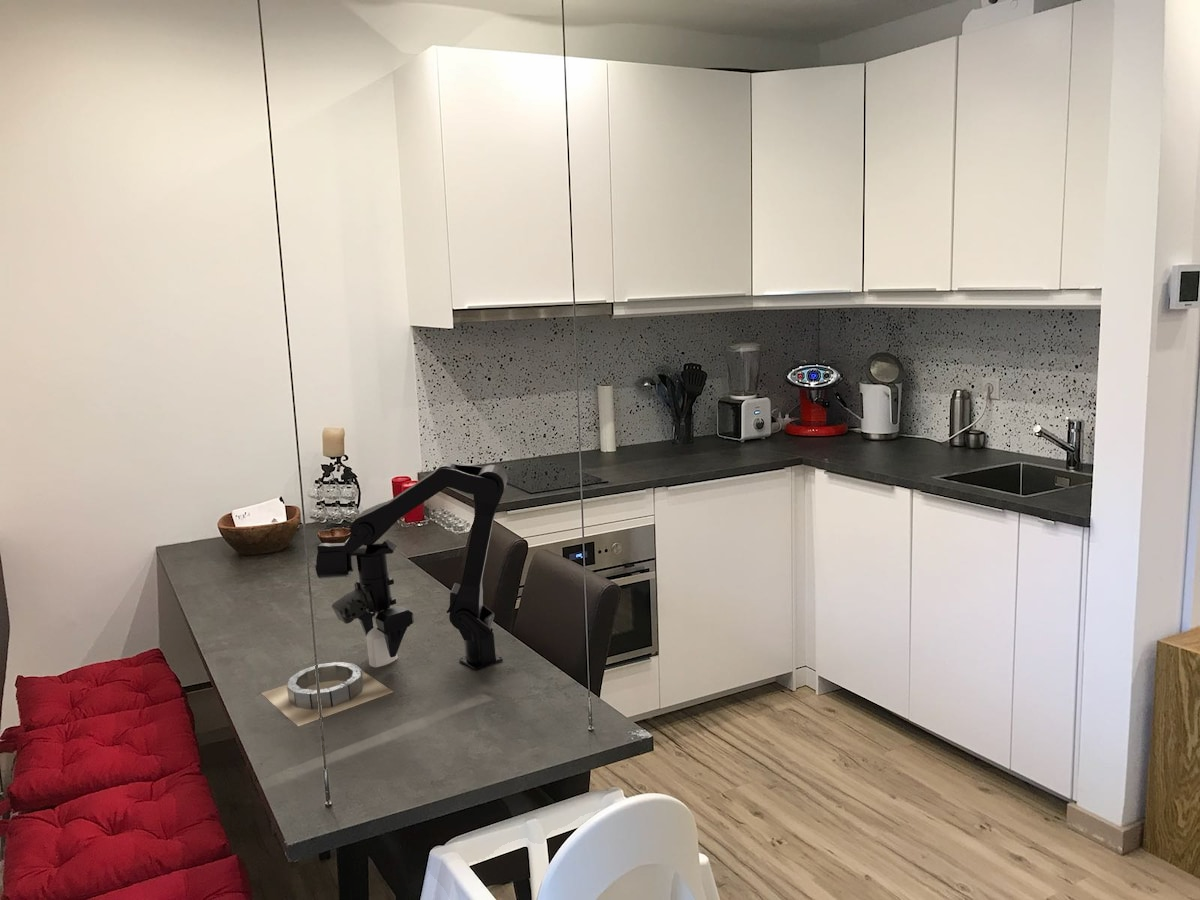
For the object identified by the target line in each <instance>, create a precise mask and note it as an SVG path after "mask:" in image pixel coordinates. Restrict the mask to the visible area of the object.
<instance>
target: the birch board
mask: <svg viewBox="0 0 1200 900" xmlns="http://www.w3.org/2000/svg"><path fill="white" fill-rule="evenodd" d="M362 677H363V689H362V692H361V693H360V694H359V695H357V696H356V697H355V698H353V699H352V700H350V701H348V702H345V703H343V704H340V705H337V706H334V707H330V708H322V713H323V718H326V717H329V716H331V715H335V714H337V713H340V712H342V711H345V710H349V709H350V708H353V707H356V706H358V705H361V704H364V703H367V702H370V701H372V700H375V699H378V698H381V697H384V696H387V695H389V694H392V693H394V691H393V690H391V689H390V688H388V687H387V686H386V685H384V684H383V683H381V682H380V681H378V680H376V679H375V678H374V677H372V676H371V675H369V674H368V673H366V672H365V671H364V670H362ZM344 682H346V681H340V680H334V681H326V682H321V683H320V689H327V688H331V687H334V686H337V685H340V684H343V683H344ZM306 689H309V690H316V684H315V685H312V686H309V687H308V688H306ZM261 695H262V696H263V697H264V698H266V700H268V701H269V702H270V703H271V704H272V705H273V706H274V707H275V708H277V709H278V710H279V711H280V712H281V713H282V714H283V715H284V716H285V717H287V718H288V719H289V720H290V721H292V722H293V724H294V725H295V726H297V727H301V726H304V725H307V724H309V723H312V722H315V721H317V720H320V719H319V712H318V709H314V710H313V709H312V710H310V709H303V708H297V707H295V706H294V705H293V704H291V703H290V702H289V698H288V691H287V684H284V685H281V686H279V687H276V688H273V689H269V690H266V691H264V692H261Z"/></svg>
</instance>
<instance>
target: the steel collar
mask: <svg viewBox="0 0 1200 900" xmlns="http://www.w3.org/2000/svg"><path fill="white" fill-rule="evenodd" d="M317 665H318V673H319V682H320V683H321V682H326V681H334V680H340V681H346V682H344V683H343V684H340V685H337V686H334V687H331V688H327V689H320V698H321V705H322V708H330V707H334V706H337V705H340V704H343V703H345V702H348V701H350V700H352V699H353V698H355V697H356V696H357V695H359V694H360V693H361V692H362V689H363V677H362V671H363V670H362V668H361V667H359V666H358V665H356V664H355V663H352V662H342V661H333V662H328V663H327V662H326V663H320V664H317ZM315 666H316V665H313V666H310V667H307V668H303V669H301V670H300V671H297V673H295V674H293V675H292V676H291V677H289V678H288V682H287V684H286V685H287V691H288V698H289V702H290V703H291V704H293V705H294V706H295V707H297V708H303V709H310V710H312V709H313V710H314V709H318V701H317V690H309V689H306V688H308V687H309V686H312V685H315V684H316V676H315Z"/></svg>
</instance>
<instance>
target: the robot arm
mask: <svg viewBox="0 0 1200 900" xmlns="http://www.w3.org/2000/svg"><path fill="white" fill-rule="evenodd" d="M507 483H508V474H507V473H506V472H505V470H504V469H503V467H500V466H498V465H496V464H489V465H485V466H479V465H471V464H470V465H469V464H458V463H452V462H449V461H448V462H447V461H446V462H444V463H441V464H440V465H439V467H438V468H436V469H435V470H434V471H432V472H430V473H429V474H428V475H426V476H425V477H423V478H421V479H420V480H418V481H417V482H415V483H414V484H413V485H411V486H410V487H408V488H407V489H405V490H404V491H402V492H401V493H399V494H398V495H395V497H394V498H392V499H389V500H387V501H383V502H381V503H379V504H376V505H374V506H372V507H369V508H367V509H365V510H363V511H362V512H360V514H359V515H358V516H357V517H356V518H355V519H354V520H353V521H352V523H351V524H350V529H349V532H350V536H349V537H348V538H347V540H346V541H345V542H337V543H335V542H334V543H329V542H323V543H322V542H321V543H319V545H317V553H316V561H315V562H316V563H315V565H314V567H315V572H316V576H317V578H318V579H320V580H324V579H338V578H339V579H340V578H341V579H342V578H350V577H351V575H352V573H353V572H356V570H357V572H358V573H357V574H358V580H355V583H354V590H353V591H351V592H348V593H346V594H345V595H343V596H342V597H340V598H339V599H337V600H336V601H335V602H333V603H332V604H331V609H332V611H334V613H335V616H336V617H337V619H338V620H339V621H341V622H343V623H344V624H350V623H352V622H353V621H354V620H356V619H358V621H359V623H360V625H361V627H362V629H363V630H362V631H363V632H364V634H365V635H364V636H365V637H366V638H367V634H368V632H369V631H370V630H371V629H373V628H374V627H373V620H372V617H373V616H375V615H376V614H378V615H377V616H376V624H377V626H378V628H376V629H377V630H379V631H380V632H382V633H383V634H384V636H385V640H386V644H387V648H388V652H389V655H390V657H391V658H392V657H395V656H396V654H397V655H398V651H399V648H400V646H401V643H402V641H403V639H404V636H405V633H406V631H407V630H408V628H409V627H411V625H413V624H414V623H415V618H414V612H412V611H410V610H409V609H408V608H406V607H403V606H401V605H398V606H395V607H392V608H391V606H394V605H396V604H397V600H396V598H395V597H392V588H391V585H394V584H395V580H394V578H392V577H390V571H389V563H388V562H389V561H388V555H389V554H391V555H392V554H393V553H394V552H395V551H396V549H397V547H398V545H397V544H395V543H393V542H392V541H390V539H389V538H385V539H384V541H383V542H379V543H376V542H378V540H379V539H381V538H382V537H383V535H385V533H386V532H387V531H389V530H390V528H392V526H394V525H395V524H396V523H397V521H399V520H400V519H401V518H402V517H404V516H405V515H407V514H408V513H409V512H411V511H413V510H414V509H416V508H417V507H419V506H420V505H422V504H424V503H425V502H426V501H428V500H430V499H431V498H432V497H434V496H435V495H437V494H438V493H439V492H441V491H442V490H444V489H446V488H450V489H455V490H457V491H459V492H462V493H465V494H470V495H473V509H474V518H473V521H472V527H471V534H470V538H469V543H468V549H467V553H466V559H465V564H464V570H463V576H462V580H461V583H457V582H454V583H453V586H452V588H451V590H450V595H449V605H448V607H447V609H446V614H449V622H450V623H451V625H452V627H454V628H455V629H457V630H458V632H459V633H460V635H461V637H462V639H463V643H464V653H465V656H461V657H459V659H458V661H459V662H460V663H462V664H464V665H465V666H468V667H470V668H471V669H473V670H476V671H477V670H480V669H482V668H485V667H488V666H490V665H493V664H497V663H499V662H501V661H504V658H503V656H501V655H499V654H497V652H496V644H495V633H494V629H493V628H492V624H493V621H494V619H495V612H493V611H492V610H491V609H490V608H488V607H487V606H486V605H485V604H484V597H483V596H484V589H483V576H484V572H485V571H484V570H485V566H486V561H487V556H488V550H489V545H490V539H491V535H492V531H493V530H492V529H493V525H494V519H495V514H496V512H497V509H498V507H499V504H500V502H501V500H502V496H503V494H504V491H505V489H506V487H507ZM362 546H366V547H362Z"/></svg>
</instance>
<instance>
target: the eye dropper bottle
mask: <svg viewBox="0 0 1200 900" xmlns="http://www.w3.org/2000/svg"><path fill="white" fill-rule="evenodd" d="M377 615H378V614H376V615H375V616H373V617H372V620H373V627H374V628H373V629H371V630H370V631H369V632H368V634H367V637H366V647H367V655H368V664H369V666H370V667H372V668H379V667H383V666H387V665H389V664H392V663H393V662H395V661H396V660H397V659H398V658H399V657H398V653H397V654H396V656H395V657H392V658H391V657H390V655H389V652H388V648H387V644H386V640H385V636H384V634H383V633H382V632H380V631H379V630H377V629H376V628H378V626H377V624H376V616H377Z"/></svg>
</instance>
